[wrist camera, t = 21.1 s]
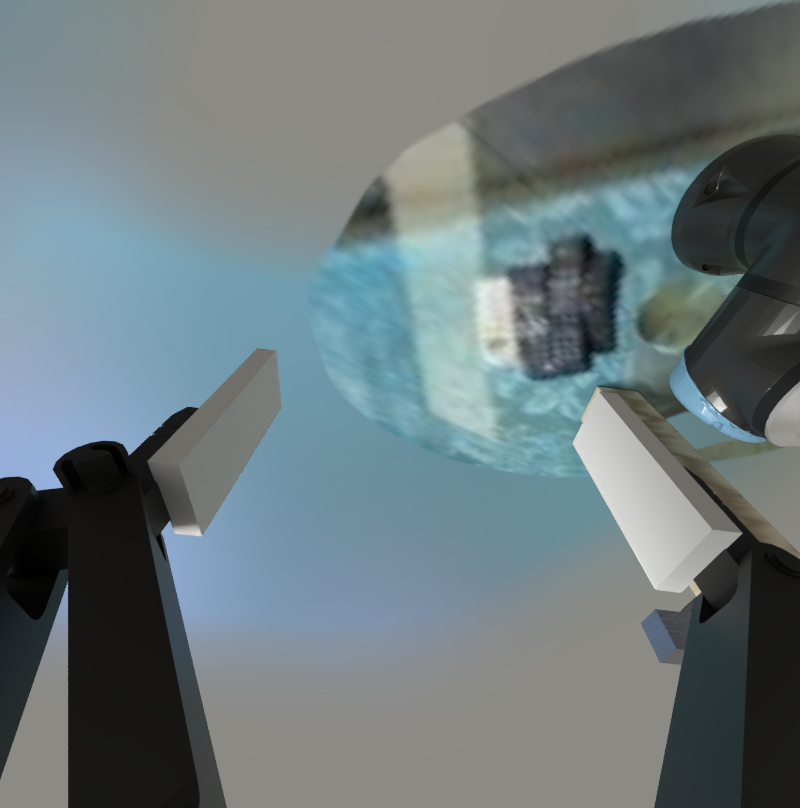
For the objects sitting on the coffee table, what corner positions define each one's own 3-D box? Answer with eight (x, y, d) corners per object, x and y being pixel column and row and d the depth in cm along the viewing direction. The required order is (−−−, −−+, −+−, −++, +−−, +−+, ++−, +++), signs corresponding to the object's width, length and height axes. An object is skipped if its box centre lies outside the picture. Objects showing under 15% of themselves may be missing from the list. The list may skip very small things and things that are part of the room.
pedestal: (576, 421, 63) (720, 648, 33) (595, 383, 59) (781, 604, 28) (620, 426, 63) (803, 658, 33) (641, 389, 59) (876, 615, 29)
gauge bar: (629, 635, 32) (659, 702, 28) (669, 595, 29) (711, 666, 24) (817, 656, 33) (875, 727, 28) (882, 620, 29) (960, 695, 25)
